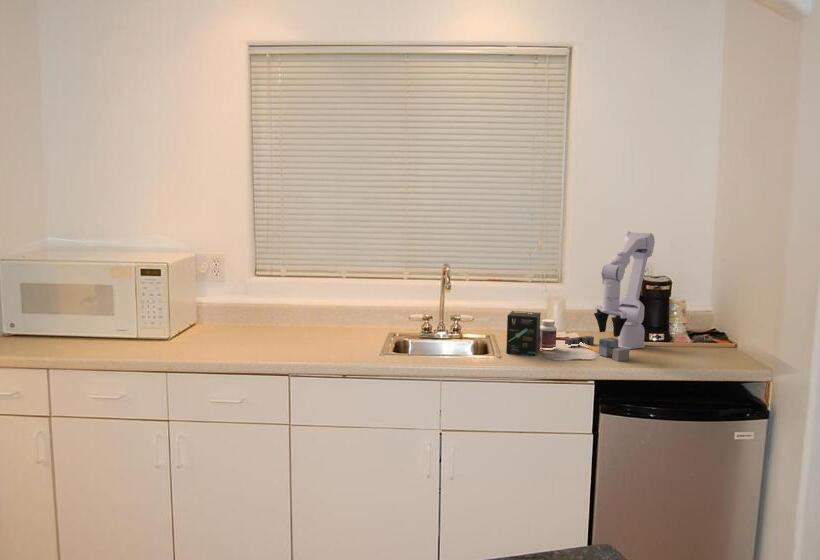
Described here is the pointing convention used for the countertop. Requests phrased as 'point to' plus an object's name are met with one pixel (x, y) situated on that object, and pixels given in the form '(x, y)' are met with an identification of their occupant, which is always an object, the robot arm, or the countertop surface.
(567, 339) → the comb
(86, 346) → the countertop surface
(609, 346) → the sleeve
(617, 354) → the hammer
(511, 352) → the tampon box
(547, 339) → the pill bottle
